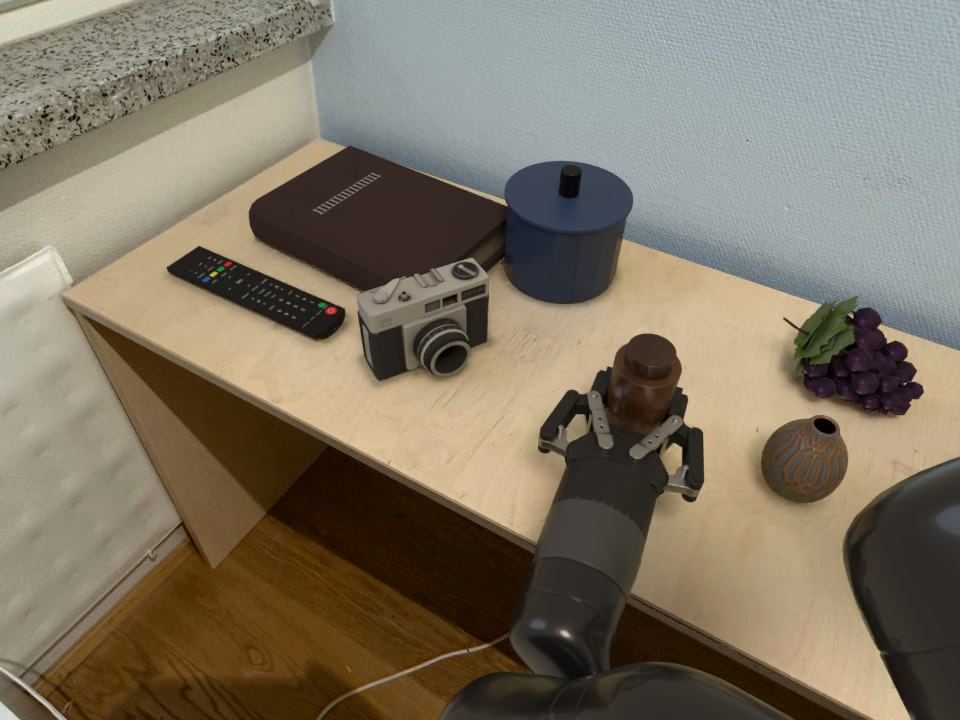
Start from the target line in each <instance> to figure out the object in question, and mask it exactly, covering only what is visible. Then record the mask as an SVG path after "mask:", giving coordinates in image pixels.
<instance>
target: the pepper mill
mask: <svg viewBox="0 0 960 720" xmlns="http://www.w3.org/2000/svg"><path fill="white" fill-rule="evenodd" d="M611 367H612V372H611V376H610V380H609V385H608V389H607V393H606V398H605V402H604V405H603V408H604V409H605V410H606V414H607V419H608V423H609V424H612V425H616V426H619V427H620V428H622V429H624V430H626V431H630V432H638V433H641V434H644V435H648V434H649V433H650V432H651V431H652V430H653V429H654V428H655V427H657V426H660V425H662V424H663V423H664V422H665V420H666V417H667V414H668V411H669V408H670V405H671V403H672V400H673V397H674V394H675V391H676V388H677V387H678V385H679V382H680V379H681V375H682V374H683V373H682V372H683V366H682V363H681V360H680V358H679V357H678V356H677V349H676V346H675V345H674V344H673V343H672V342H671V340H669V339H668V338H666V337H665V336H662V335H659V334H656V333H649V332H648V333H647V332H646V333H639V334H635V336H633V337H632V338H630V339H629V341H628V342H627V343H625V344H623V345H622V346H621V347H620V348H618V350H617V351H616V353H615V355H614V359H613V363H612V366H611Z"/></svg>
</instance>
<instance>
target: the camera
mask: <svg viewBox="0 0 960 720" xmlns="http://www.w3.org/2000/svg"><path fill="white" fill-rule="evenodd" d="M489 300H490V275H489V274H488V272H485V271H484V270H483V269H482V268H481V267H480V265H479V264H478V263H477V262H476V261H475V260H474V259H473V258H469V259H465V260H462V261H459V262H456V263H453V264H449V265H446V266H443V267H440V268H437V269H431V272H429V273H427V274H424V275H419V274H415V275H414V277H409V278H406V277H402V278H397V279H393V280H392V281H390V282H389V283H388V284H387V285H384V286H381V287H377V288H374V289H371V290H368V291H362V292H360V293H358V294H357V295H356V302H357V307H358V309H357V319H358V324H359V325H358V326H359V332H360V336H361V337H360V338H361V344H362V350H363V358H364V360H365V361H366V363H367V365H368V367H369V369H370V370H371V373H372V374H373V375H374V377H375V378H376V380H377V381H378V382H383V381H384V380H387V379H390V378H392V377H396V376H399V375H401V374H404V373H407V372H409V371H412V370H416V369H419V368H421V367H423V368H425V369H426V370H427V371H428V372H430V373H431V374H432V375H434V376H437V377H448V376H452V375H454V374H456V373H458V372H459V371H461V370H462V369H463V368H464V367H465V366H466V365H467V364H468V362H469V360H470V358H471V355H472V348H474V347H477V346H480V345H483V344H486V343H487V342H488V327H489Z"/></svg>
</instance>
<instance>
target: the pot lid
mask: <svg viewBox="0 0 960 720" xmlns="http://www.w3.org/2000/svg"><path fill="white" fill-rule="evenodd" d="M503 192H504V193H503V195H504V196H503V197H504V201H505V204H506V206H508V207H509V208H510V210H511V211H512V212H513V213H514V214H515V215H516V216H518V217H519V218H520V219H522V220H523V221H525V222H527V223H529V224H531V225H533V226H536V227H539V228H541V229H545V230H549V231H553V232H559V233H568V234H584V233H593V232H598V231H603V230H606V229H609V228H611V227H614V226H616V225H617V224H619V223H621V222H622V221H623V220H624V219H626V218H627V219H628V216H629V215H630V214H631V212H632V210H633V206H634V194H633V191H632V189H631V188H630V185H628V183H627V182H626V181H624V180H623V179H622V178H621V177H620V176H618V175H616V174H615V173H613V172H612V171H610V170H608V169H605V168H603V167H600V166H598V165H595V164H590V163H586V162H582V161H581V162H580V161H572V160H551V161H550V160H549V161H543V162H542V161H541V162H537V163H534V164H530V165H527V166H525V167H523V168H521V169H519V170H517V171H516V172H515V173H513V174H512V175H511V176H510V177H509V178H508V180H507V181H506V184H505V186H504V191H503Z"/></svg>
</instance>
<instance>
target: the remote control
mask: <svg viewBox="0 0 960 720" xmlns="http://www.w3.org/2000/svg"><path fill="white" fill-rule="evenodd" d="M165 268H166V270H167V272H168V273H169V274H170V275H173V276H176V277H177V278H180V279H181V280H184V281H186V282H189V283H191V284H193V285H195V286H197V287H199V288H201V289H204V290H206V291H208V292H211V293H212V294H214V295H217V296H219V297H221V298H223V299H226V300H228V301H230V302H231V303H235V305H236V304H237V305H239V306H241V307H242V308H245V309H247V310H250V311H252V312H254V313H256V314H258V315H260V316H262V317H265V318H267V319H269V320H271V321H273V322H275V323H277V324H279V325H282V326H285V327H286V328H288V329H291V330H293V331H295V332H297V333H299V334H302V335H304V336H306V337H308V338H310V339H312V340H315V341H319V340H324V339H328V338H329V337H331V336H332V335H334V334H336V332H337V331H338V330H339V329H340V328H341V326H342V325H343V322H344V318H345V316H346V309H345V307H342V306H340V305H338V304H336V303H333V302H330V301H329V300H326V299H323V298H321V297H319V296H316V295H314V294H312V293H309V292H307V291H305V290H303V289H300V288H298V287H295V286H294V285H291V284H289V283H286V282H284V281H281V280H280V279H277V278H274V277H273V276H270V275H268V274H265V273H263V272H261V271H259V270H257V269H254V268H251V267H249V266H247V265H244V264H242V263H240V262H238V261H236V260H233V259H230V258H228V257H226V256H223V255H221V254H220V253H217V252H214V251H212V250H209V249H208V248H205V247H202V245H201V246H200V245H197V247H195V248H193V249H192V250H190V251H188V252H187V253H186V254H184V255H183V256H181V257H180V258H178V259H176V260H175V261H174V262H172V263H171V264H170V265H168V266H166V267H165Z"/></svg>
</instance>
